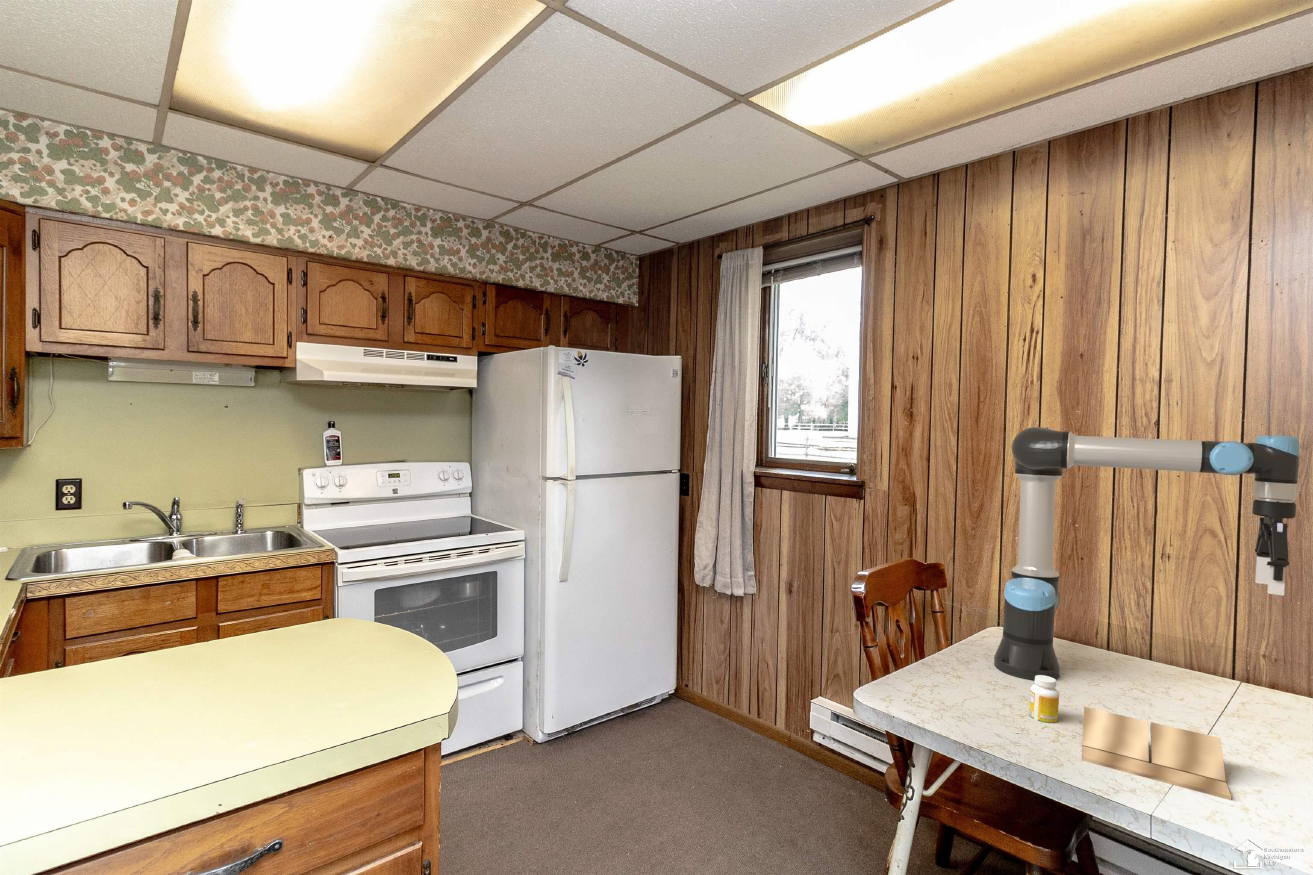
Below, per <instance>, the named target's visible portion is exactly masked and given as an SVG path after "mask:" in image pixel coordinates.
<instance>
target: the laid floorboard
mask: <svg viewBox="0 0 1313 875" xmlns="http://www.w3.org/2000/svg"><path fill="white" fill-rule="evenodd" d="M1081 761H1083V762H1085V763H1090V764H1093V765H1097V766H1102V767H1104V768H1109V769H1111V770H1112V769H1113V770H1117V771H1121V772H1124V773H1127V774H1131V775H1135V776H1138V777H1143V778H1146V779H1150V780H1153V781H1154V780H1155V781H1157V782H1161V783H1165V784H1169V785H1172V786H1176V787H1179V788H1184V789H1187V790H1191V791H1195V792H1199V793H1203V794H1206V795H1209V796H1213V797H1217V798H1221V799H1225V800H1228V801H1232V795H1231V792H1230V790H1229V787H1228V784H1227V782H1221V781H1218V780H1214V779H1210V778H1206V777H1202V776H1198V775H1194V774H1190V773H1186V772H1183V771H1179V770H1175V769H1171V768H1167V767H1163V766H1159V765H1155V764H1151V762H1149V763H1147V762H1144V761H1140V760H1136V759H1132V758H1128V757H1124V756H1120V755H1116V754H1112V753H1109V752H1105V751H1101V750H1097V749H1093V748H1089V747H1085V746H1082V745H1081Z"/></svg>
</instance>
